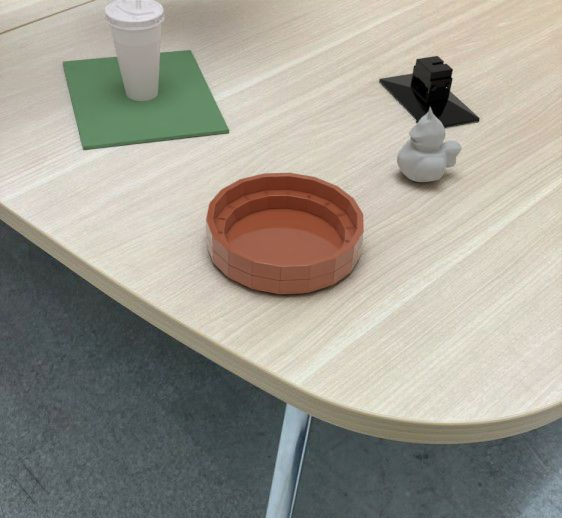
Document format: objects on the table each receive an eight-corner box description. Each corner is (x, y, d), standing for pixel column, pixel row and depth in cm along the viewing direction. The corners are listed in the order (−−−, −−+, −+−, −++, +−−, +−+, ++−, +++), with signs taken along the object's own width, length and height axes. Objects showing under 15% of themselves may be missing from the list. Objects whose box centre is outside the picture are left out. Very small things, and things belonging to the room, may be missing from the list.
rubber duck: (387, 164, 84) (399, 94, 78) (446, 160, 85) (461, 91, 80) (402, 193, 81) (415, 121, 75) (462, 189, 82) (480, 118, 76)
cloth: (83, 149, 84) (82, 146, 83) (63, 64, 97) (62, 61, 96) (229, 132, 87) (229, 129, 87) (190, 52, 100) (190, 49, 100)
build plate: (479, 122, 92) (489, 84, 88) (425, 132, 89) (432, 94, 86) (427, 73, 99) (434, 36, 96) (376, 81, 97) (381, 44, 94)
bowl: (229, 309, 68) (228, 278, 65) (193, 213, 77) (191, 182, 74) (382, 283, 71) (387, 253, 68) (330, 194, 80) (333, 164, 78)
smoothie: (154, 111, 89) (143, -18, 79) (104, 99, 90) (87, -29, 80) (178, 86, 93) (171, -40, 83) (130, 75, 94) (117, -50, 84)
